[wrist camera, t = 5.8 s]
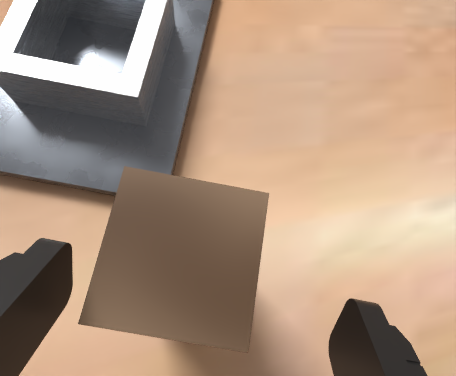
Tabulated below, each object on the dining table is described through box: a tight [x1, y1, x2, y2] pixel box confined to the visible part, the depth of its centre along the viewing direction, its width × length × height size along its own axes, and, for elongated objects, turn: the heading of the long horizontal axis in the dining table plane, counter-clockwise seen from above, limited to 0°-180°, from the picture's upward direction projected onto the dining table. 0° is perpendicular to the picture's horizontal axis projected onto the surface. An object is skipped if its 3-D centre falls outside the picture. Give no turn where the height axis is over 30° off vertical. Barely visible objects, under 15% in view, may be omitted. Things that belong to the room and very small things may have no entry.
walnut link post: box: [78, 166, 269, 353], centre depth 16 cm, size 4×4×15 cm
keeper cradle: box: [0, 0, 214, 196], centre depth 26 cm, size 22×16×5 cm
